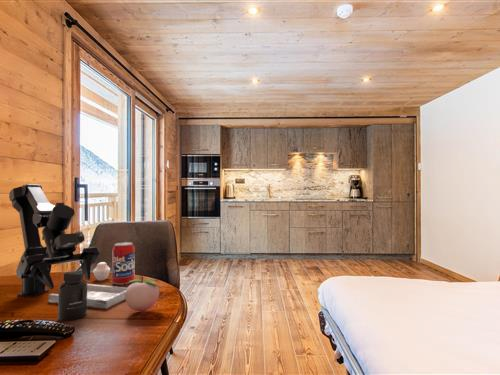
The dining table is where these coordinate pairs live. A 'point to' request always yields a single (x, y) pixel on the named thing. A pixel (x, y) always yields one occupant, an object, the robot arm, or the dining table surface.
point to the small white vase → (101, 271)
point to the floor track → (99, 296)
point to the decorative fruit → (141, 294)
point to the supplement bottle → (72, 296)
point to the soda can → (123, 263)
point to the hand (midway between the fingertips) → (71, 284)
